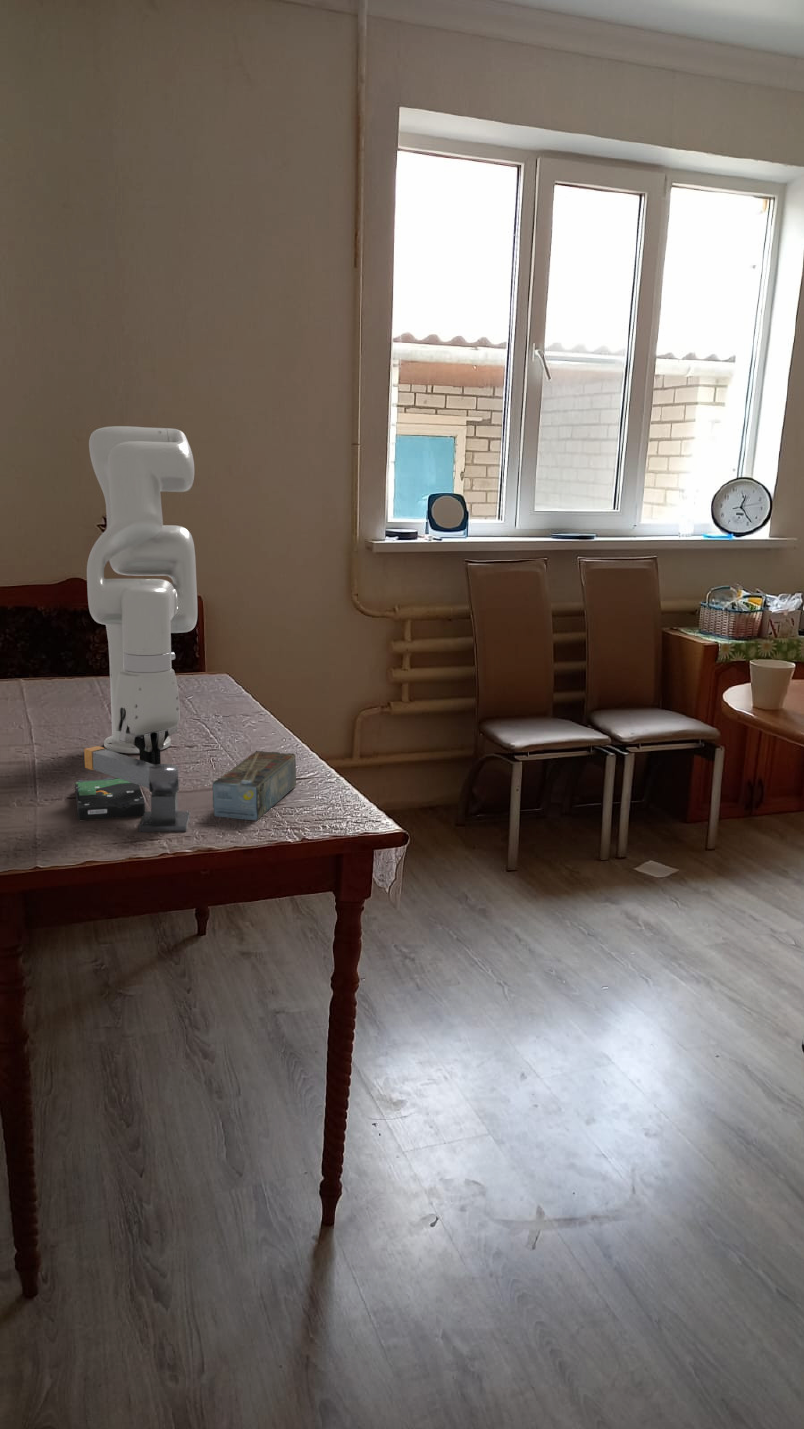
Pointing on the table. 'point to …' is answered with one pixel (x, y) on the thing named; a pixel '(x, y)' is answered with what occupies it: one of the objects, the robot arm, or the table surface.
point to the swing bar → (133, 770)
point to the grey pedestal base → (164, 815)
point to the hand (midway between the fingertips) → (150, 772)
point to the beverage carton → (254, 785)
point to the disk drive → (108, 799)
